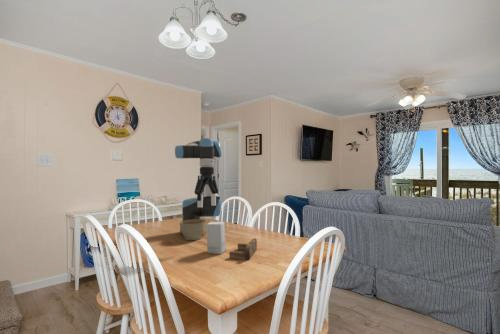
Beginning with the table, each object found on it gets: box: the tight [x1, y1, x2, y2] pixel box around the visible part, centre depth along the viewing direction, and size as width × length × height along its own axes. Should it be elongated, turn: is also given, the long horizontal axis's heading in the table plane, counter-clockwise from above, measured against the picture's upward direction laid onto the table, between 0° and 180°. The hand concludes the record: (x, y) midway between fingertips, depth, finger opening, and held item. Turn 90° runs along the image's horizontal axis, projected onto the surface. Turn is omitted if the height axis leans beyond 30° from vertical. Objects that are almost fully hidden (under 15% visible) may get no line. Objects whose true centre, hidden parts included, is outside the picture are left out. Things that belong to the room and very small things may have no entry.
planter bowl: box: [179, 218, 207, 241], centre depth 172 cm, size 16×16×11 cm
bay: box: [228, 238, 258, 261], centre depth 142 cm, size 16×10×6 cm, turn 166°
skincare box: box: [205, 221, 227, 255], centre depth 145 cm, size 8×7×16 cm
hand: (207, 206), depth 148 cm, fingers open, 13 cm apart
